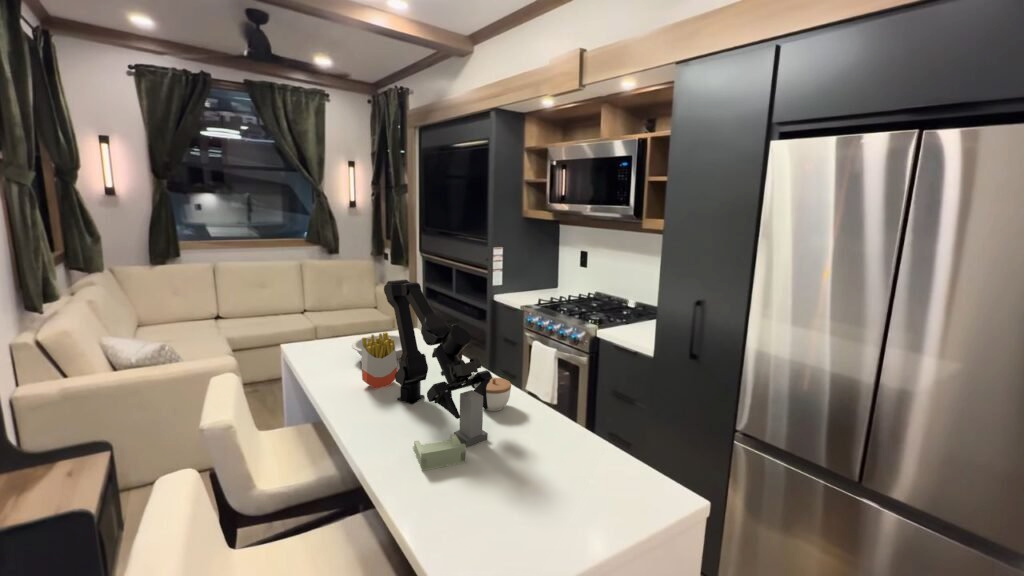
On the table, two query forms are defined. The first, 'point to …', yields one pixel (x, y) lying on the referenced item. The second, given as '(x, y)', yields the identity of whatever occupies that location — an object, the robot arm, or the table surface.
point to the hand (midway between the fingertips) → (472, 413)
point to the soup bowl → (396, 339)
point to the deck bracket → (440, 453)
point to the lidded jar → (497, 393)
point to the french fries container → (378, 361)
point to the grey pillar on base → (471, 419)
